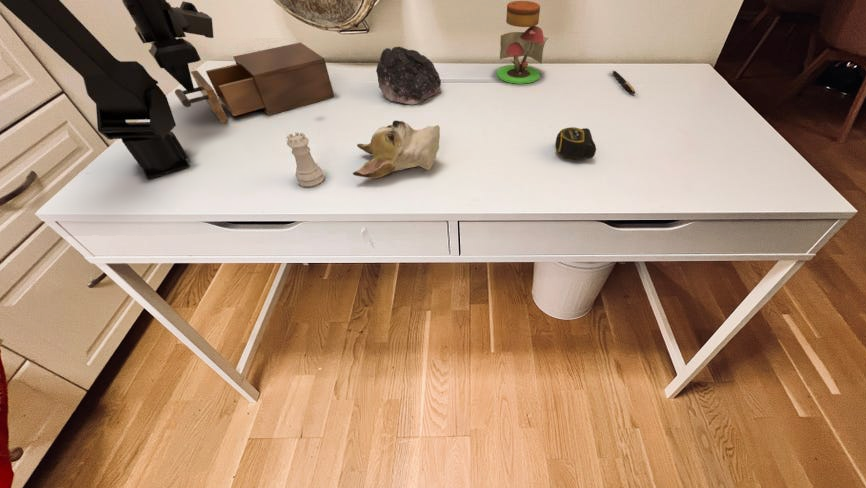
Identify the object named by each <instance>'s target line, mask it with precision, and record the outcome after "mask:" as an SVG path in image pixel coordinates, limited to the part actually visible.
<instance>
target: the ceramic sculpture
mask: <svg viewBox="0 0 866 488" xmlns="http://www.w3.org/2000/svg"><path fill="white" fill-rule="evenodd" d="M440 133H441V128H440V125H431V126H426V127H424V128H421V129H414V128H412V127H411V125H410V124H409V123H407V122H405V121H403V120H393V121H392V123H391V124H390V125H387V126H381V127H379V128H378V129H377V130H376V131H375V132H374V133H373V134H372V137H371V139H370V143H368V144H365V143H358V144H357V143H356V146H357V148H358V149H360V150H362V151H363V152H364V153H367V154H369V155H370V156H372V157H373V158H372V159H370V160H369V161H367V162H365V163H364V164H363V165H362V166H361V168H360V169H358V170H356V171H354V172H352V175H353V176H357V177H361V178H368V179H380V178H382V177H384V176H386V175H388V174H390V173H392V172H398V171H402V170H406V169H409V168H414V167H421V168H423V169H424V170H427V171H429V170H431V168H432V167H433V165H434V163H435V161H436V157H437V154H438V152H439V150H440V138H441V135H440Z"/></svg>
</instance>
